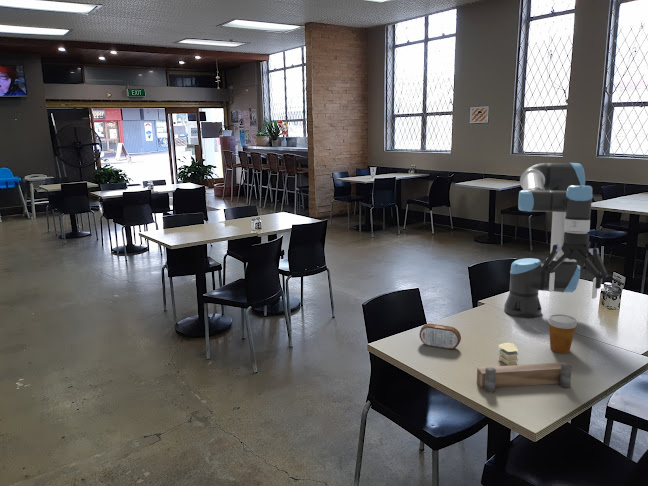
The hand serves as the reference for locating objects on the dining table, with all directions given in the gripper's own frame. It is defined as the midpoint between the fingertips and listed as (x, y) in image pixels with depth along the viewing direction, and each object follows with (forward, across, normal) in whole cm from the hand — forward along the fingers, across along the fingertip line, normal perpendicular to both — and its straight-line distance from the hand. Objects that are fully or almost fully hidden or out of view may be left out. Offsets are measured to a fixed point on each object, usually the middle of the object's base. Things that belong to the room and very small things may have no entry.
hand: (572, 294), depth 167 cm
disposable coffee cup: (+23, -5, +7) cm, 24 cm away
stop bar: (+25, -4, -26) cm, 36 cm away
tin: (+24, -39, -18) cm, 49 cm away
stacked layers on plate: (+24, -15, -13) cm, 32 cm away
